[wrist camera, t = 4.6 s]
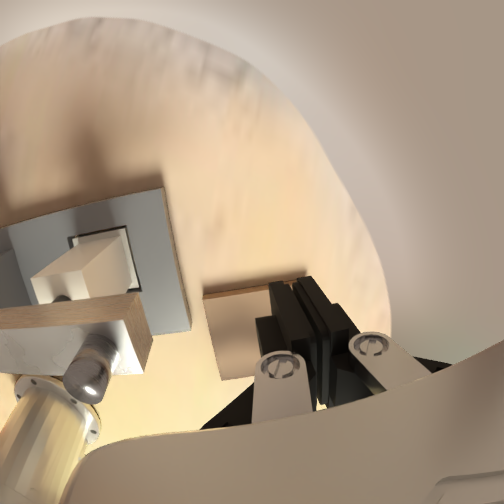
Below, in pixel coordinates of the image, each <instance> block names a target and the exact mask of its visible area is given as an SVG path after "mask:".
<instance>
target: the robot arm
mask: <svg viewBox="0 0 504 504" xmlns="http://www.w3.org/2000/svg"><path fill="white" fill-rule="evenodd" d="M268 287H269V296H270V304H271V313H272V315H270V316H264V317H258V318H255V324H256V331H257V338H258V344H259V350H260V355H261V358H260V359H259V361H258V362H257V363H256V367H255V379H254V383H253V384H252V385H250V386H249V387H248V388H247V389H246V390H245V391H244V392H243V393H241V394H240V395H239V396H238V397H237V398H236V399H234V400H233V401H232V402H231V403H230V404H229V405H227V406H226V407H225V408H224V409H223V410H222V411H220V412H219V413H218V414H217V415H216V416H214V417H213V418H212V419H211V420H209V421H208V422H207V423H206V424H205V425H204V426H203V427H202V428H201V429H200V430H194V431H184V432H172V433H161V434H153V435H145V436H140V437H134V438H129V439H124V440H121V441H117V442H114V443H110V444H107V445H104V446H102V447H99V448H97V449H95V450H93V451H91V452H90V453H88V454H87V455H85V454H84V452H85V449H86V446H87V445H88V444H91V443H94V442H95V441H96V440H97V439H98V437H99V434H100V430H101V424H100V420H99V418H98V415H97V414H96V412H95V411H94V409H93V408H92V407H91V405H90V404H86V403H83V402H80V401H78V400H76V399H75V398H74V397H72V396H71V395H70V394H69V393H68V392H67V390H66V389H65V387H64V385H63V382H61V381H59V380H57V379H56V378H53V377H51V376H48V375H27V374H24V375H22V376H21V377H20V378H19V379H18V381H17V382H16V384H15V388H14V393H15V397H16V400H17V405H16V407H15V408H14V410H13V411H12V413H11V415H10V417H9V418H8V420H7V422H6V423H5V425H4V427H3V429H2V430H1V432H0V504H504V340H503V341H501V342H499V343H497V344H495V345H493V346H491V347H489V348H487V349H485V350H483V351H481V352H479V353H477V354H475V355H473V356H471V357H469V358H467V359H465V360H463V361H460V362H458V363H456V364H454V365H452V364H448V363H444V362H438V361H433V360H428V359H423V358H418V357H413V356H411V355H410V354H409V353H407V351H405V350H404V349H403V348H402V347H401V346H399V345H398V344H397V343H396V342H395V341H394V340H392V339H391V338H390V337H388V336H387V335H385V334H382V333H379V332H364V333H360V331H359V330H358V329H357V327H356V326H355V325H354V323H353V322H352V321H351V319H350V318H349V317H348V315H347V314H346V313H345V311H344V310H343V309H342V307H341V306H340V305H339V304H338V303H335V304H331V302H330V301H329V300H328V298H327V297H326V295H325V294H324V293H323V291H322V290H321V289H320V287H319V286H318V284H317V283H316V282H315V280H314V279H313V278H312V276H307V277H301V278H297V281H296V282H294V283H292V289H291V287H290V285H289V283H288V284H284V282H283V281H277V282H271V283H268ZM317 398H318V401H319V403H320V405H323V404H325V405H326V407H327V409H323V410H319V411H316V405H317Z"/></svg>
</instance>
